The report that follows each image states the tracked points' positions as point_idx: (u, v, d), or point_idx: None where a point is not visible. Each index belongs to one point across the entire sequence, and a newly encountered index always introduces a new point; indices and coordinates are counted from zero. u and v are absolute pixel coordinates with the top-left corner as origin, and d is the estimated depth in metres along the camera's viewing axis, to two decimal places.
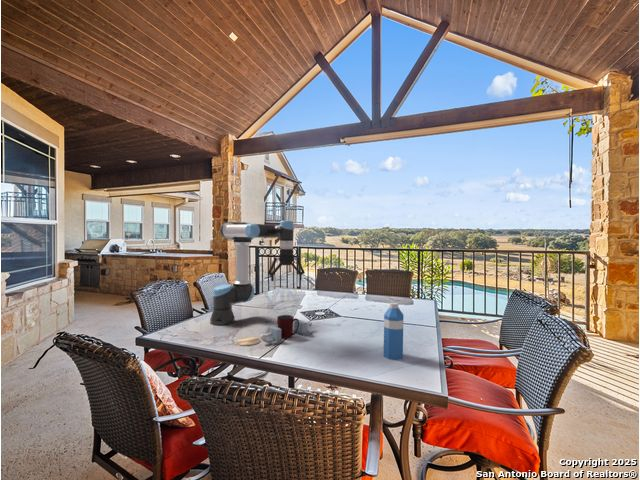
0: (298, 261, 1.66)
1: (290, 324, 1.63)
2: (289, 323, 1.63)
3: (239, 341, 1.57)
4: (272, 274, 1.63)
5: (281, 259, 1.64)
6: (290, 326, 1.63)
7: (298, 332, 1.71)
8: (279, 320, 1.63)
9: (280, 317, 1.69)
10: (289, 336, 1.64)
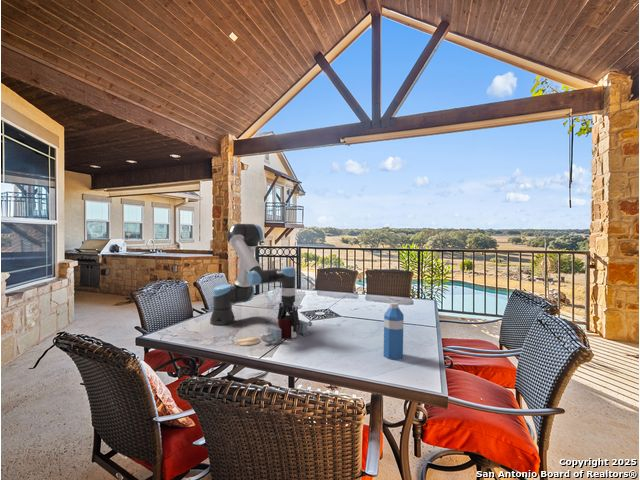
0: (293, 311, 1.61)
1: (291, 324, 1.63)
2: (290, 323, 1.62)
3: (239, 341, 1.57)
4: None
5: (283, 304, 1.67)
6: None
7: (298, 332, 1.71)
8: (280, 320, 1.62)
9: None
10: (290, 336, 1.63)
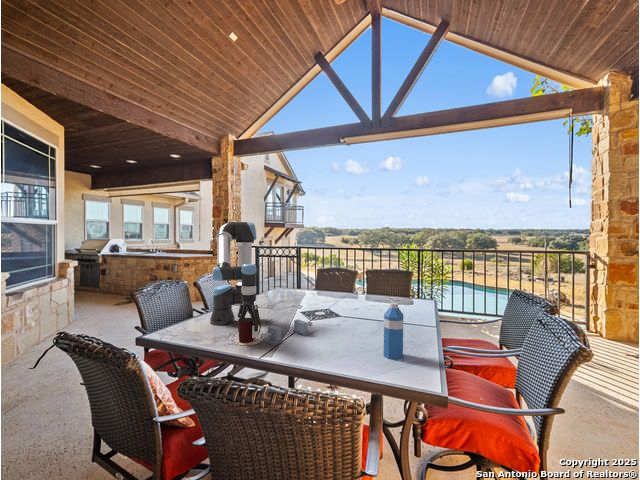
0: (253, 310, 1.52)
1: (251, 327, 1.55)
2: (250, 326, 1.55)
3: None
4: (239, 318, 1.62)
5: (244, 304, 1.59)
6: (251, 329, 1.56)
7: (298, 332, 1.71)
8: (239, 323, 1.55)
9: (241, 320, 1.61)
10: (250, 340, 1.56)
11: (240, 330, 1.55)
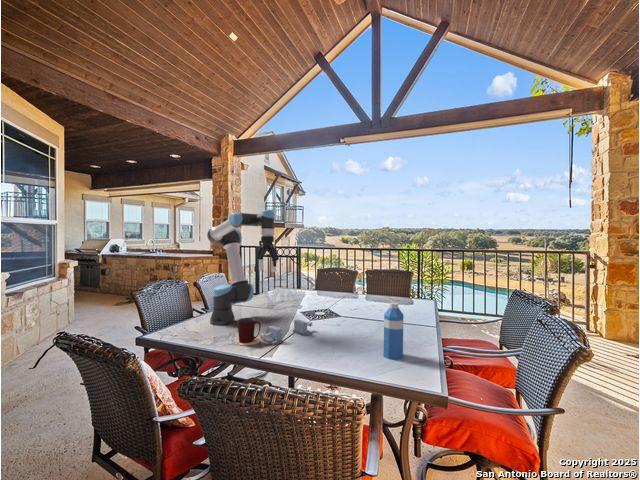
0: (272, 248, 1.75)
1: (251, 327, 1.55)
2: (250, 326, 1.55)
3: None
4: (258, 258, 1.85)
5: (263, 245, 1.82)
6: (251, 329, 1.55)
7: (298, 332, 1.71)
8: (239, 323, 1.55)
9: (241, 320, 1.61)
10: (250, 340, 1.56)
11: (240, 330, 1.55)
